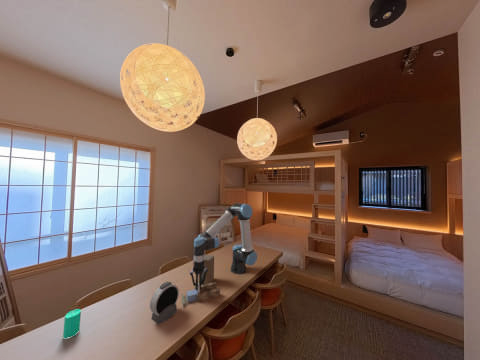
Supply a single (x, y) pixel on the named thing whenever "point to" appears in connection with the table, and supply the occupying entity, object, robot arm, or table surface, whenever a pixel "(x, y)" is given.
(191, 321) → the table surface
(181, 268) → the table surface
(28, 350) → the table surface
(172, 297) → the alarm clock
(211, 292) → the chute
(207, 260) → the wooden block
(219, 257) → the table surface
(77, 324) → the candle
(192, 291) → the block
